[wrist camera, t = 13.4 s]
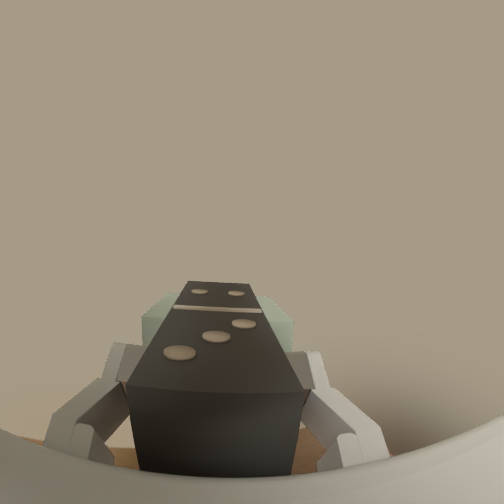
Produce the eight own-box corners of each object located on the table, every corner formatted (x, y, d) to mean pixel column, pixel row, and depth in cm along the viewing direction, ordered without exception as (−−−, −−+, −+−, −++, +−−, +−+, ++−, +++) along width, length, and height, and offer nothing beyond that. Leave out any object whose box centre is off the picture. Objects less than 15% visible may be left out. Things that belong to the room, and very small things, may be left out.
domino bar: (141, 473, 6) (125, 380, 6) (187, 324, 20) (188, 279, 20) (289, 478, 6) (305, 387, 6) (246, 327, 20) (249, 282, 20)
